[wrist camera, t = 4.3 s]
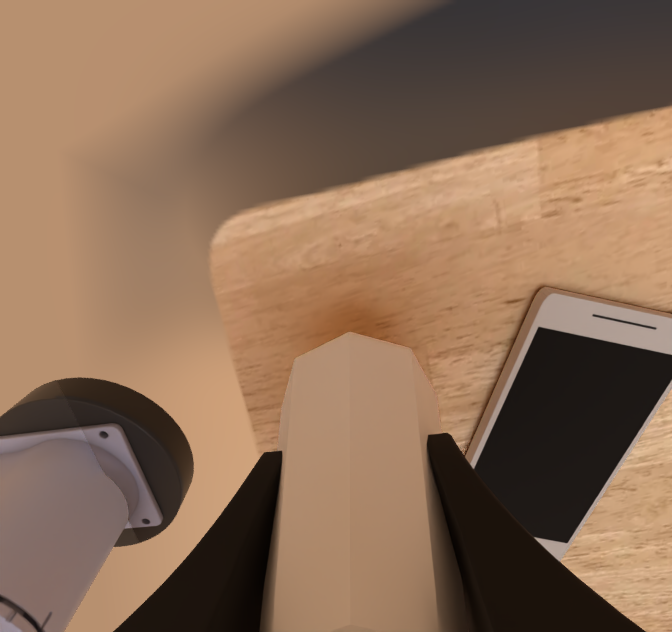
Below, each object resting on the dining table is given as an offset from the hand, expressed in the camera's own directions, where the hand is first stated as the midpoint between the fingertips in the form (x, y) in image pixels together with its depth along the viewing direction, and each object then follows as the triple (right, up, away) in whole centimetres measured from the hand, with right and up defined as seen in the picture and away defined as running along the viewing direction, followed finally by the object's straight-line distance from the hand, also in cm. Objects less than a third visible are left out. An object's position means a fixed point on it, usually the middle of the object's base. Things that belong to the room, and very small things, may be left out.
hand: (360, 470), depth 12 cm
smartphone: (+10, -2, +10) cm, 14 cm away
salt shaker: (0, +1, +3) cm, 4 cm away
